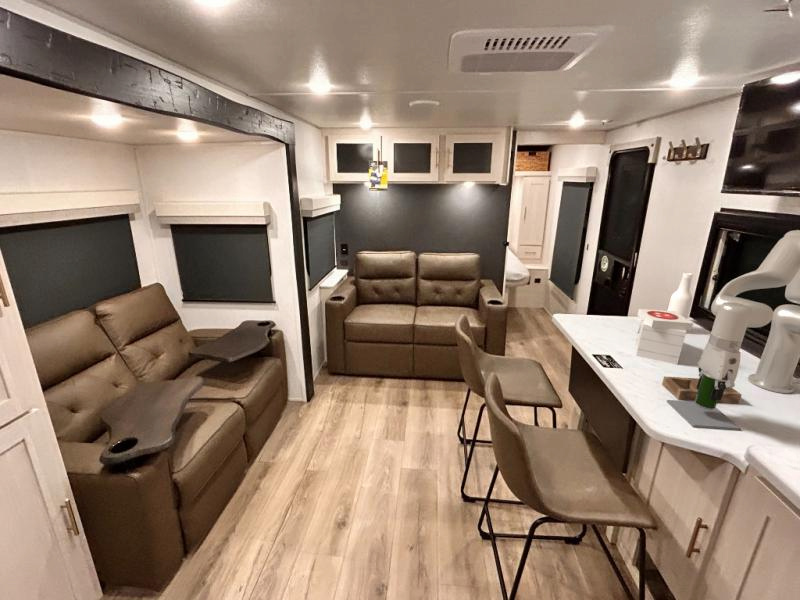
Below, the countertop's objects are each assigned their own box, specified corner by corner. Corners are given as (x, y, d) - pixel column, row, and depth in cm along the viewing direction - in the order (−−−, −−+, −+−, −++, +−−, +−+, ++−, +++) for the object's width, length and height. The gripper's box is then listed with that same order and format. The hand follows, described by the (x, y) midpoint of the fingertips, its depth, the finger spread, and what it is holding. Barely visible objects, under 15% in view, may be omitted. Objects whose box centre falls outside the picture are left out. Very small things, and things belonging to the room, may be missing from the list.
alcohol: (658, 327, 198) (672, 271, 189) (673, 326, 199) (687, 271, 190) (673, 333, 190) (688, 276, 180) (687, 332, 191) (704, 275, 182)
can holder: (718, 388, 140) (720, 379, 139) (738, 403, 130) (741, 394, 129) (661, 384, 141) (664, 376, 140) (678, 399, 132) (680, 390, 131)
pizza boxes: (677, 342, 179) (687, 307, 173) (683, 368, 155) (694, 327, 149) (631, 333, 189) (639, 299, 183) (629, 356, 164) (638, 317, 159)
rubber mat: (709, 404, 129) (709, 402, 129) (740, 430, 116) (741, 428, 116) (666, 401, 130) (667, 399, 130) (693, 427, 117) (693, 424, 117)
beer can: (695, 407, 121) (705, 374, 117) (692, 399, 126) (702, 367, 122) (716, 412, 119) (727, 378, 115) (713, 404, 123) (723, 371, 119)
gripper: (760, 355, 107) (741, 410, 112) (717, 332, 123) (702, 381, 129) (732, 354, 107) (714, 408, 113) (693, 331, 124) (679, 379, 129)
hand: (708, 393), depth 121 cm, fingers closed on beer can, 5 cm apart
